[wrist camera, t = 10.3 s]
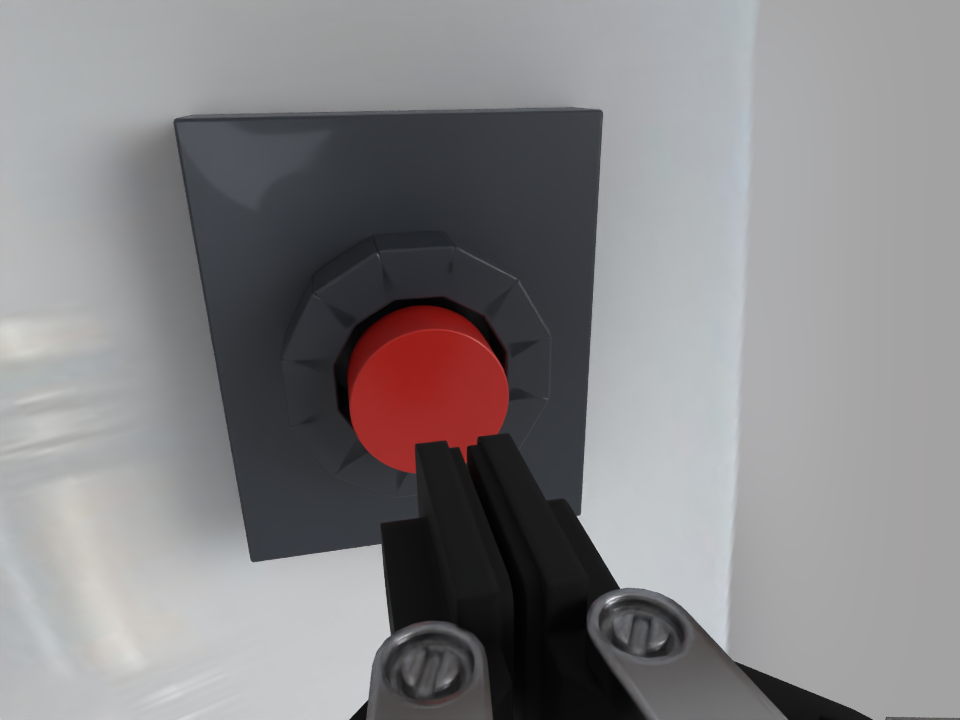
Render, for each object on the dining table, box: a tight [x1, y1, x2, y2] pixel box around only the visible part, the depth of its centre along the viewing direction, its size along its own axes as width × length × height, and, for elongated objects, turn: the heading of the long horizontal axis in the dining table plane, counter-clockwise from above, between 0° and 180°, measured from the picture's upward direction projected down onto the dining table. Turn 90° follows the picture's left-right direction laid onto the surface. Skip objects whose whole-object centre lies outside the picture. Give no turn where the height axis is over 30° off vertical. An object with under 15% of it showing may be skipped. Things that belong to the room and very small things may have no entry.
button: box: [347, 305, 509, 474], centre depth 16 cm, size 4×4×2 cm
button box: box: [173, 107, 603, 562], centre depth 18 cm, size 12×10×4 cm
